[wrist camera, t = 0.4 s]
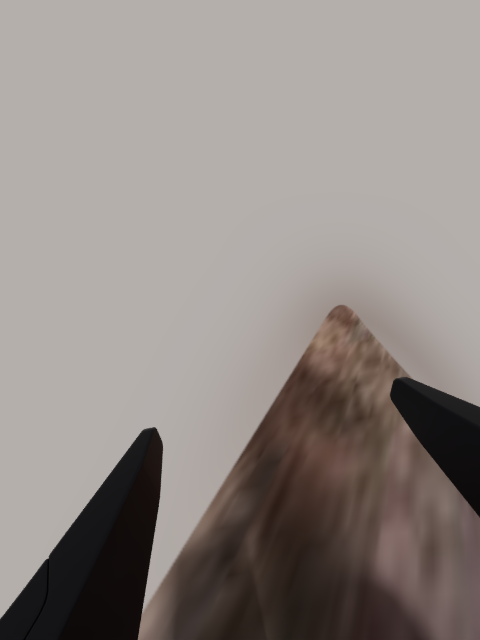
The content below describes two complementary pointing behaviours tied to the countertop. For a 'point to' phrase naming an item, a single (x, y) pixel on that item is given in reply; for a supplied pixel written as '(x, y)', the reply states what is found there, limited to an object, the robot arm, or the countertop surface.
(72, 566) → the robot arm
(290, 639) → the countertop surface
